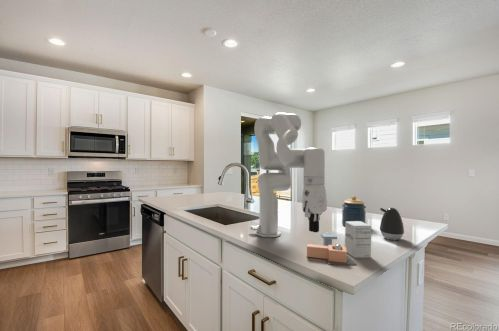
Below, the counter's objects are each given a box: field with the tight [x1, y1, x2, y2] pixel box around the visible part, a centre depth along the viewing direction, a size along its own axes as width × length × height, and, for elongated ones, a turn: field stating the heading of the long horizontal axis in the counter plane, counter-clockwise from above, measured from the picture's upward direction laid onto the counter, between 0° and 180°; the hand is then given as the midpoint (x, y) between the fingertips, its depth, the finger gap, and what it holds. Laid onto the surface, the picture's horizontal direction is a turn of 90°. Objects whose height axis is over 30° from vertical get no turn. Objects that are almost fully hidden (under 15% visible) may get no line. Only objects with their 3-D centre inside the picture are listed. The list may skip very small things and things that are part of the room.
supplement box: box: [344, 221, 372, 258], centre depth 99 cm, size 7×7×13 cm
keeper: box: [320, 232, 338, 246], centre depth 105 cm, size 6×6×6 cm
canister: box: [341, 195, 367, 227], centre depth 144 cm, size 13×13×18 cm
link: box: [306, 243, 348, 263], centre depth 95 cm, size 14×6×4 cm, turn 73°
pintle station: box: [324, 243, 357, 266], centre depth 93 cm, size 10×10×6 cm
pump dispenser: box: [379, 207, 405, 241], centre depth 120 cm, size 10×10×15 cm
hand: (314, 231), depth 90 cm, fingers closed
